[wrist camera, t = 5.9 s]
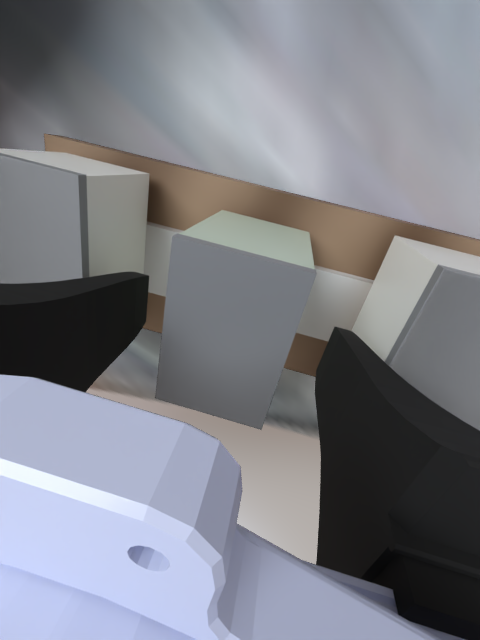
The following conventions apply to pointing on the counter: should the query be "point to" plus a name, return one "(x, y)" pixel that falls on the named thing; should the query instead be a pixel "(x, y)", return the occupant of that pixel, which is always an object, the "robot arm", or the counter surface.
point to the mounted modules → (129, 251)
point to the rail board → (280, 208)
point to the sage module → (232, 314)
